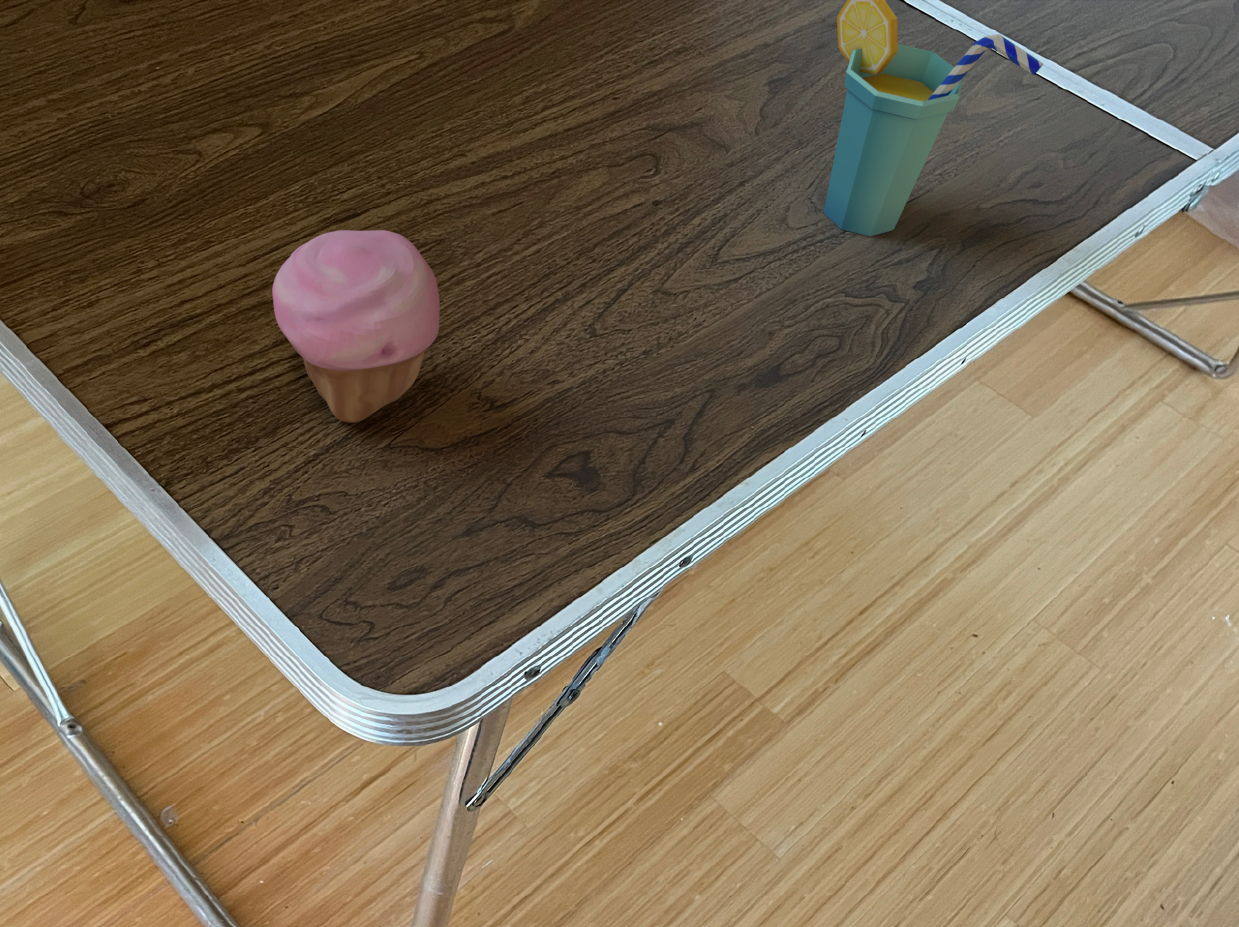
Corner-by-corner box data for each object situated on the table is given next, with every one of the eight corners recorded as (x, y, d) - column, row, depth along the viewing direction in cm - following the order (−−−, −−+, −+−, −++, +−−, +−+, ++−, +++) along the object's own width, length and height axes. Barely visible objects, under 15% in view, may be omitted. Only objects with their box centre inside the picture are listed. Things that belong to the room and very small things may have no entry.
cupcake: (257, 369, 71) (240, 223, 64) (392, 324, 75) (390, 181, 68) (327, 468, 67) (318, 323, 59) (467, 415, 70) (474, 272, 63)
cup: (986, 239, 86) (1073, 32, 75) (934, 288, 82) (1018, 77, 71) (815, 156, 91) (871, -49, 80) (757, 199, 87) (809, -12, 76)
